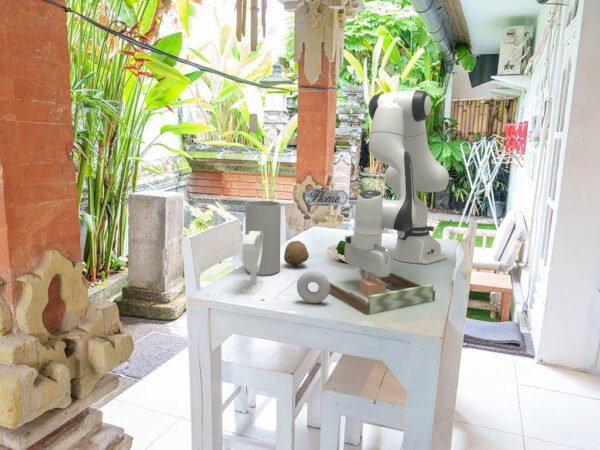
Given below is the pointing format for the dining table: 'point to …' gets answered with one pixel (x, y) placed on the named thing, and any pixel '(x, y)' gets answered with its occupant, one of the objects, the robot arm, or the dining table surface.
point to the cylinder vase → (266, 232)
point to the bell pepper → (341, 247)
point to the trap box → (387, 295)
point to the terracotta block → (372, 286)
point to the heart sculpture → (253, 259)
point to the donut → (317, 278)
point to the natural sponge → (295, 253)
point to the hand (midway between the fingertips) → (365, 282)
